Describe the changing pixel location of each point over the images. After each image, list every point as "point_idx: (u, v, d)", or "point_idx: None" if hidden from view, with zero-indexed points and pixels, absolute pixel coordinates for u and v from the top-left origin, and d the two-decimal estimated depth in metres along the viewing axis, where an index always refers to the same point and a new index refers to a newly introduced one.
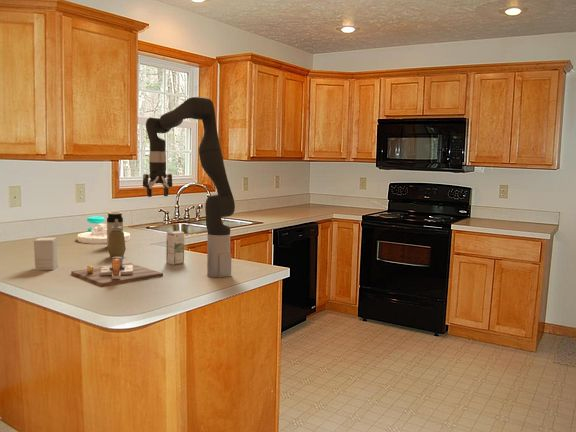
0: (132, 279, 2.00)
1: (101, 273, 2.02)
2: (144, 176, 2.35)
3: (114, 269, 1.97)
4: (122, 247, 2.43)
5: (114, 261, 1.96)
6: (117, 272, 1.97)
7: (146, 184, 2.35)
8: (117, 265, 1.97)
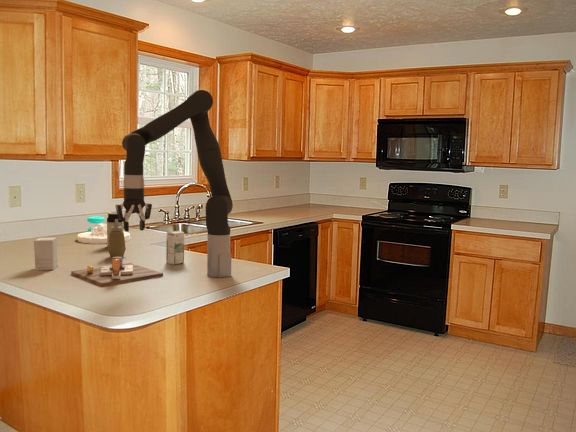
0: (132, 279, 2.00)
1: (101, 273, 2.02)
2: None
3: (114, 269, 1.97)
4: (122, 247, 2.43)
5: (114, 261, 1.96)
6: (117, 272, 1.97)
7: None
8: (117, 265, 1.97)
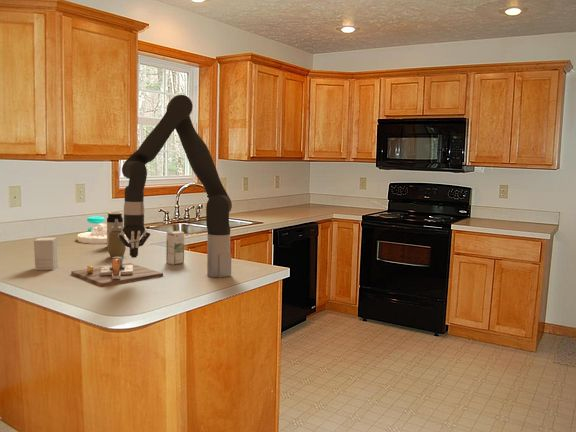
0: (132, 279, 2.00)
1: (101, 273, 2.02)
2: None
3: (114, 269, 1.97)
4: (122, 247, 2.43)
5: (114, 261, 1.96)
6: (117, 272, 1.97)
7: None
8: (117, 265, 1.97)
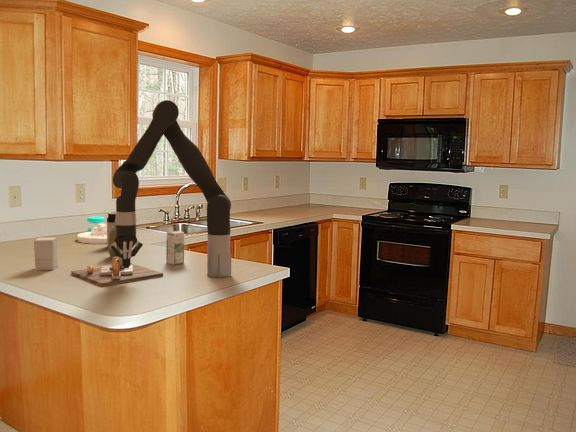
0: (132, 279, 2.00)
1: (101, 273, 2.02)
2: None
3: (114, 269, 1.97)
4: None
5: (114, 261, 1.96)
6: (117, 272, 1.97)
7: None
8: (117, 265, 1.97)
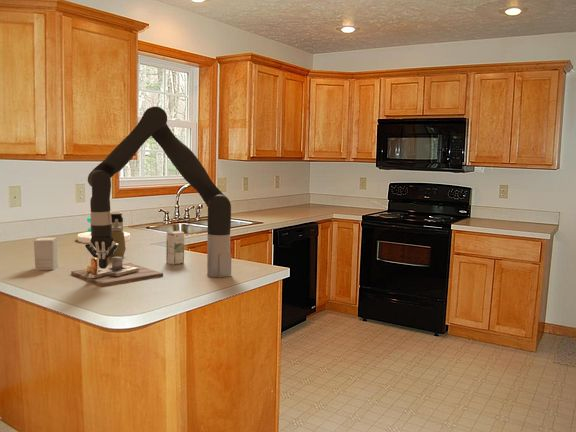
0: (132, 279, 2.00)
1: None
2: (117, 247, 1.96)
3: (91, 268, 1.98)
4: (122, 247, 2.43)
5: (91, 260, 1.97)
6: (93, 271, 1.97)
7: None
8: (93, 264, 1.97)
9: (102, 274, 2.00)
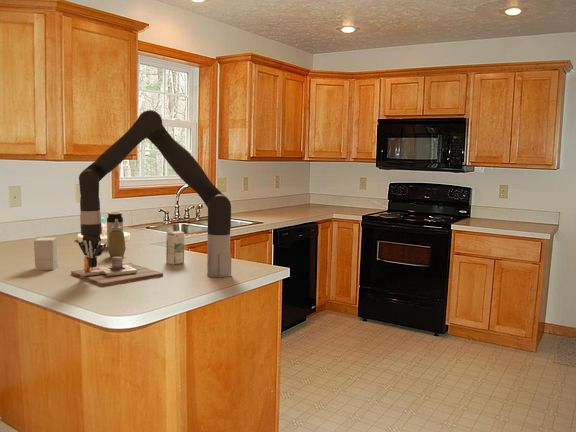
0: (132, 279, 2.00)
1: None
2: (102, 247, 1.96)
3: None
4: (122, 247, 2.43)
5: None
6: (85, 269, 2.01)
7: None
8: (85, 262, 2.01)
9: (95, 273, 2.02)
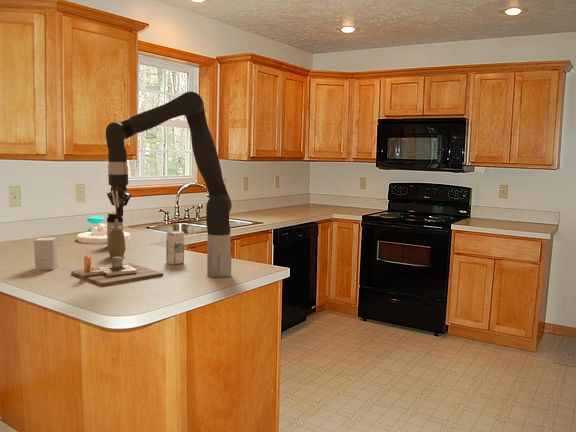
0: (132, 279, 2.00)
1: None
2: (127, 197, 2.05)
3: None
4: (122, 247, 2.43)
5: None
6: (85, 269, 2.01)
7: None
8: (85, 262, 2.01)
9: (95, 273, 2.02)
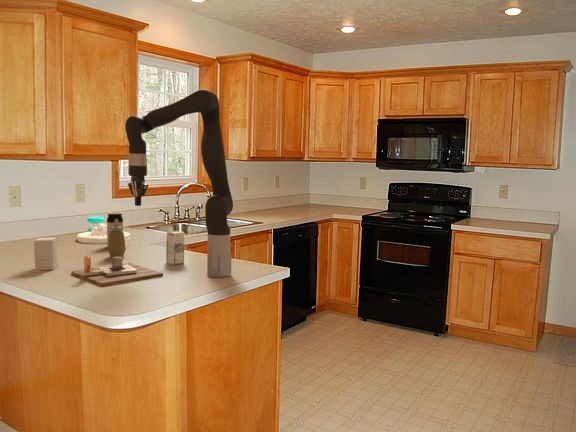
0: (132, 279, 2.00)
1: None
2: (144, 187, 2.15)
3: None
4: (122, 247, 2.43)
5: None
6: (85, 269, 2.01)
7: None
8: (85, 262, 2.01)
9: (95, 273, 2.02)
